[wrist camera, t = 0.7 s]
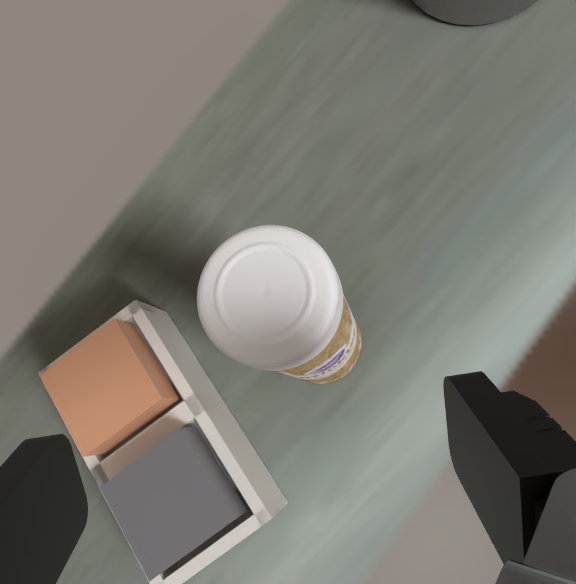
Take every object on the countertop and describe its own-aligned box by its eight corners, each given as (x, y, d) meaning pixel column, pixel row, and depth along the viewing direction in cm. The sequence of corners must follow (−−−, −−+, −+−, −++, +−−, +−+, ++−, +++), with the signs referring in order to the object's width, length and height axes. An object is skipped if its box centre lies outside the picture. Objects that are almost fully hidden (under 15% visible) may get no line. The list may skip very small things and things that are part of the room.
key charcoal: (195, 426, 26) (180, 428, 24) (247, 510, 25) (234, 519, 23) (120, 481, 26) (99, 487, 24) (168, 568, 25) (149, 581, 23)
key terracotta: (134, 324, 28) (114, 318, 26) (179, 398, 26) (162, 398, 25) (64, 377, 28) (39, 375, 26) (105, 453, 27) (82, 457, 25)
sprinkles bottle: (328, 401, 29) (272, 399, 16) (263, 348, 30) (163, 306, 17) (380, 334, 29) (369, 276, 16) (314, 284, 30) (253, 193, 17)
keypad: (166, 312, 31) (135, 299, 28) (288, 503, 28) (271, 518, 24) (80, 376, 32) (37, 372, 28) (190, 574, 28) (158, 600, 24)
